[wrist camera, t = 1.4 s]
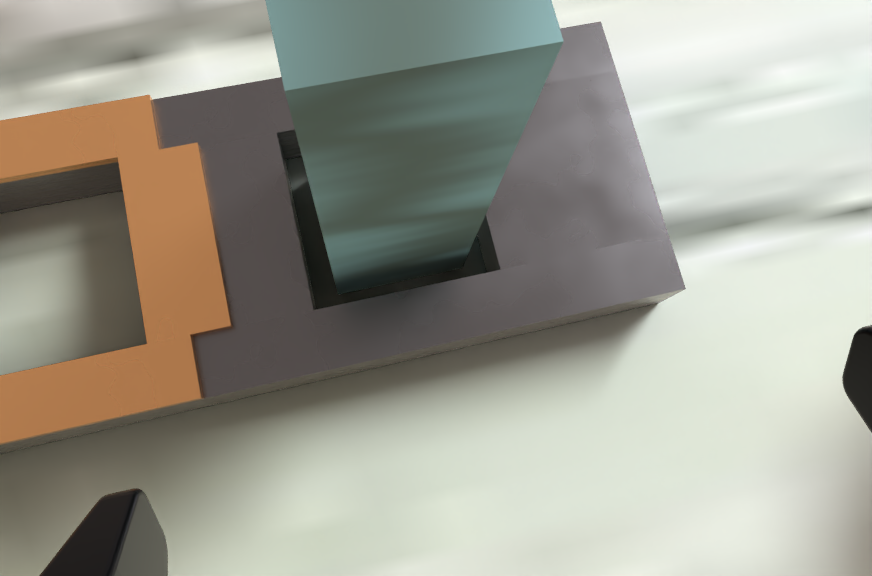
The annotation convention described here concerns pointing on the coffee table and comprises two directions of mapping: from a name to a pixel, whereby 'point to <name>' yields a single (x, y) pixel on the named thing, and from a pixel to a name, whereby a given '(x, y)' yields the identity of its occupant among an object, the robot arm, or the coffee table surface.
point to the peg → (408, 121)
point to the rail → (284, 253)
